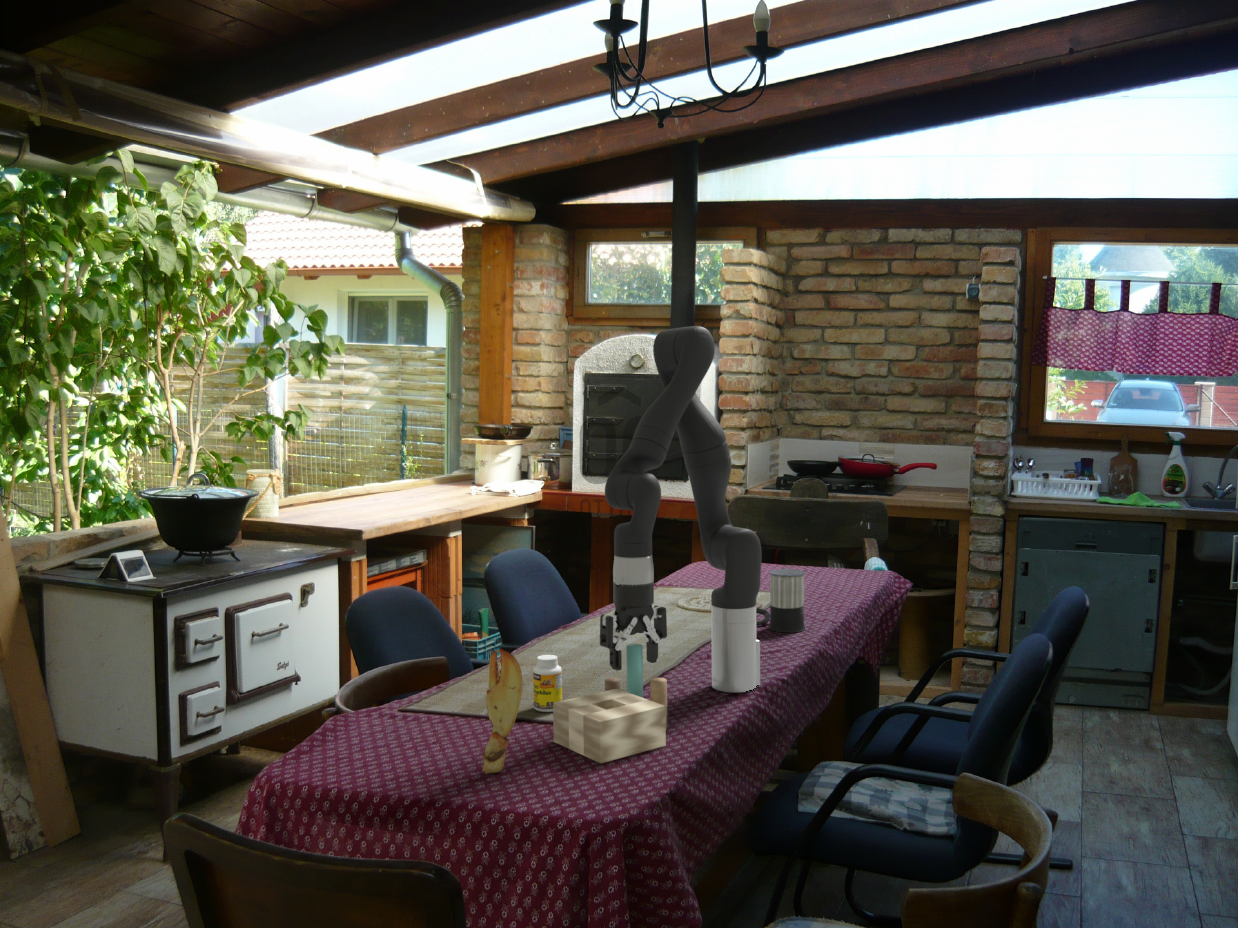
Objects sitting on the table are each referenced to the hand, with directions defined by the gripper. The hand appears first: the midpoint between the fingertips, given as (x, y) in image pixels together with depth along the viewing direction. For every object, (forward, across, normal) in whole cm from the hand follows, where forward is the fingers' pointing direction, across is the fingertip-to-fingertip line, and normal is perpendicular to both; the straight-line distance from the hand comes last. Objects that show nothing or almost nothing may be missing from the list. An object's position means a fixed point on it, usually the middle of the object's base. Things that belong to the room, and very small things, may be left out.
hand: (634, 665), depth 200 cm
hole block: (+10, +12, +8) cm, 18 cm away
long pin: (+10, 0, 0) cm, 10 cm away
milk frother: (+10, -75, -38) cm, 85 cm away
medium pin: (+10, 0, +7) cm, 12 cm away
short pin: (+10, 0, -7) cm, 12 cm away
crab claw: (+11, +34, +8) cm, 36 cm away
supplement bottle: (+11, +9, -16) cm, 21 cm away
